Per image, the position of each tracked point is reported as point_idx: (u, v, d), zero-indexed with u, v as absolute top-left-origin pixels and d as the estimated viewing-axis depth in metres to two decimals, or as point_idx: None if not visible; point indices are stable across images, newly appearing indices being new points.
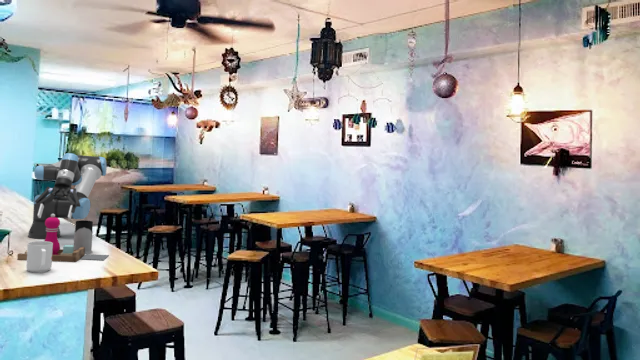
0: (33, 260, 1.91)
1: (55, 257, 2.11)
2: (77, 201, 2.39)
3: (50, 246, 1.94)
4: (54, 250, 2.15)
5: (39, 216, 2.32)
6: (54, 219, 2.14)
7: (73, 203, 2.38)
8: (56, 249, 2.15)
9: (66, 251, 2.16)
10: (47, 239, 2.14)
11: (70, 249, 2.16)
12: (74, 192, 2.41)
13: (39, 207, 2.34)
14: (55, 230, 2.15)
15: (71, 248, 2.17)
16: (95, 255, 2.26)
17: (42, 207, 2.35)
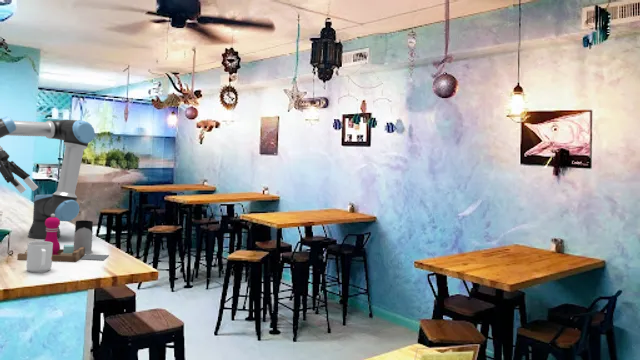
0: (33, 260, 1.91)
1: (55, 257, 2.11)
2: None
3: (50, 246, 1.94)
4: (54, 250, 2.15)
5: (35, 189, 2.26)
6: (54, 219, 2.14)
7: None
8: (56, 249, 2.15)
9: (66, 251, 2.16)
10: (47, 239, 2.14)
11: (70, 249, 2.17)
12: None
13: None
14: (55, 230, 2.15)
15: (71, 248, 2.17)
16: (95, 255, 2.26)
17: (27, 181, 2.26)
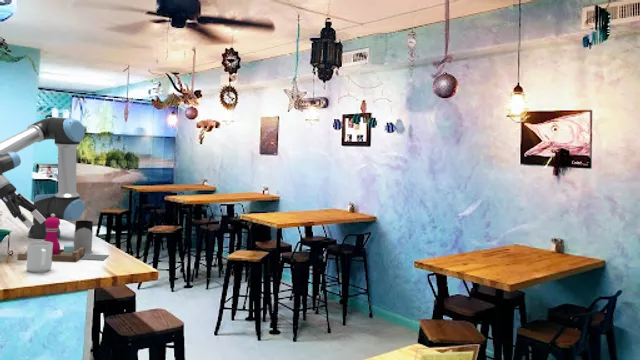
0: (33, 260, 1.91)
1: (55, 257, 2.11)
2: None
3: (50, 246, 1.94)
4: (54, 250, 2.15)
5: (42, 222, 2.20)
6: (54, 219, 2.14)
7: None
8: (56, 249, 2.15)
9: (67, 251, 2.16)
10: (47, 239, 2.14)
11: (71, 249, 2.17)
12: None
13: None
14: (55, 230, 2.15)
15: (72, 248, 2.17)
16: (95, 255, 2.26)
17: (34, 213, 2.19)
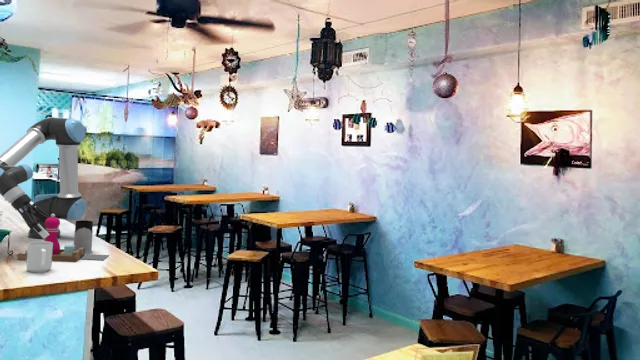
0: (33, 260, 1.91)
1: (55, 257, 2.11)
2: None
3: (50, 246, 1.94)
4: (54, 250, 2.15)
5: (57, 232, 2.22)
6: (54, 219, 2.14)
7: None
8: (56, 249, 2.15)
9: (67, 251, 2.16)
10: (47, 239, 2.14)
11: (71, 249, 2.17)
12: None
13: None
14: (55, 230, 2.15)
15: (72, 248, 2.17)
16: (95, 255, 2.26)
17: None
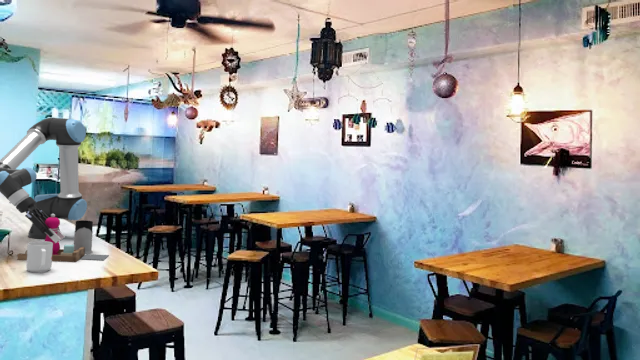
0: (33, 260, 1.91)
1: (55, 257, 2.11)
2: None
3: (50, 246, 1.94)
4: (54, 250, 2.15)
5: (61, 239, 2.20)
6: (54, 219, 2.14)
7: None
8: (56, 249, 2.15)
9: (67, 251, 2.17)
10: (47, 239, 2.14)
11: (71, 249, 2.17)
12: None
13: None
14: (55, 230, 2.15)
15: (72, 248, 2.17)
16: (95, 255, 2.26)
17: None
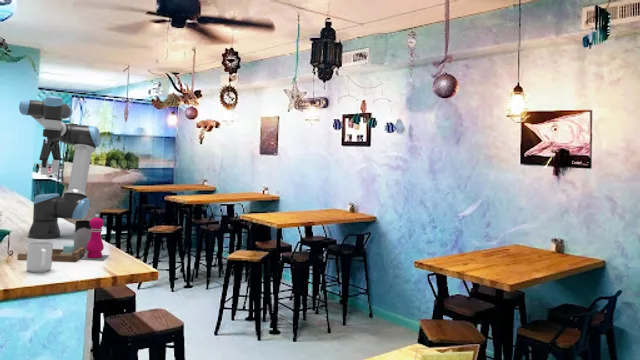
0: (33, 260, 1.91)
1: (55, 257, 2.11)
2: None
3: (50, 246, 1.94)
4: (98, 250, 2.21)
5: None
6: (99, 220, 2.21)
7: None
8: (100, 249, 2.22)
9: (66, 251, 2.16)
10: (92, 239, 2.21)
11: (70, 249, 2.17)
12: None
13: None
14: (99, 230, 2.22)
15: (71, 248, 2.17)
16: None
17: (54, 162, 2.33)
